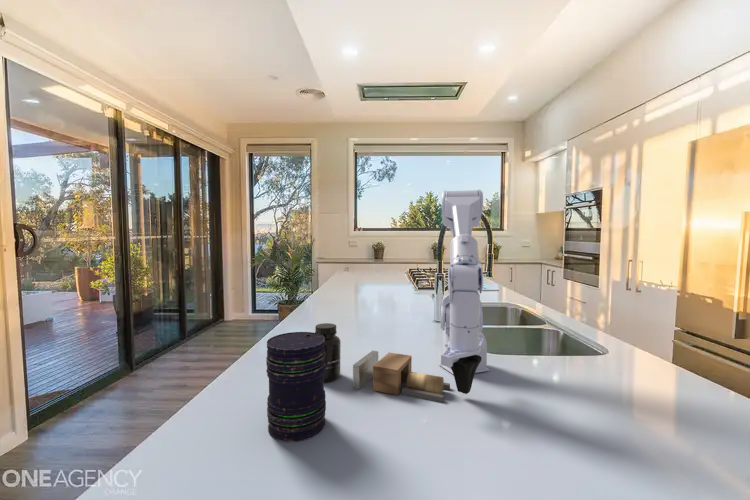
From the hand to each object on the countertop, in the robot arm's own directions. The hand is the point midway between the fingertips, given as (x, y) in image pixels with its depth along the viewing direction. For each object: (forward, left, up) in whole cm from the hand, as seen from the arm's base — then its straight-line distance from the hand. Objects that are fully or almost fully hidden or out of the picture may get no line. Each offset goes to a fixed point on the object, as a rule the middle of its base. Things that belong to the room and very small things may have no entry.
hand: (463, 391), depth 68 cm
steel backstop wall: (+15, -15, -1) cm, 22 cm away
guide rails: (+5, -5, -1) cm, 8 cm away
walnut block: (+11, -11, -1) cm, 15 cm away
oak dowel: (+6, -6, -2) cm, 8 cm away
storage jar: (+33, -2, -2) cm, 33 cm away
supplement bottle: (+24, -20, -2) cm, 31 cm away
